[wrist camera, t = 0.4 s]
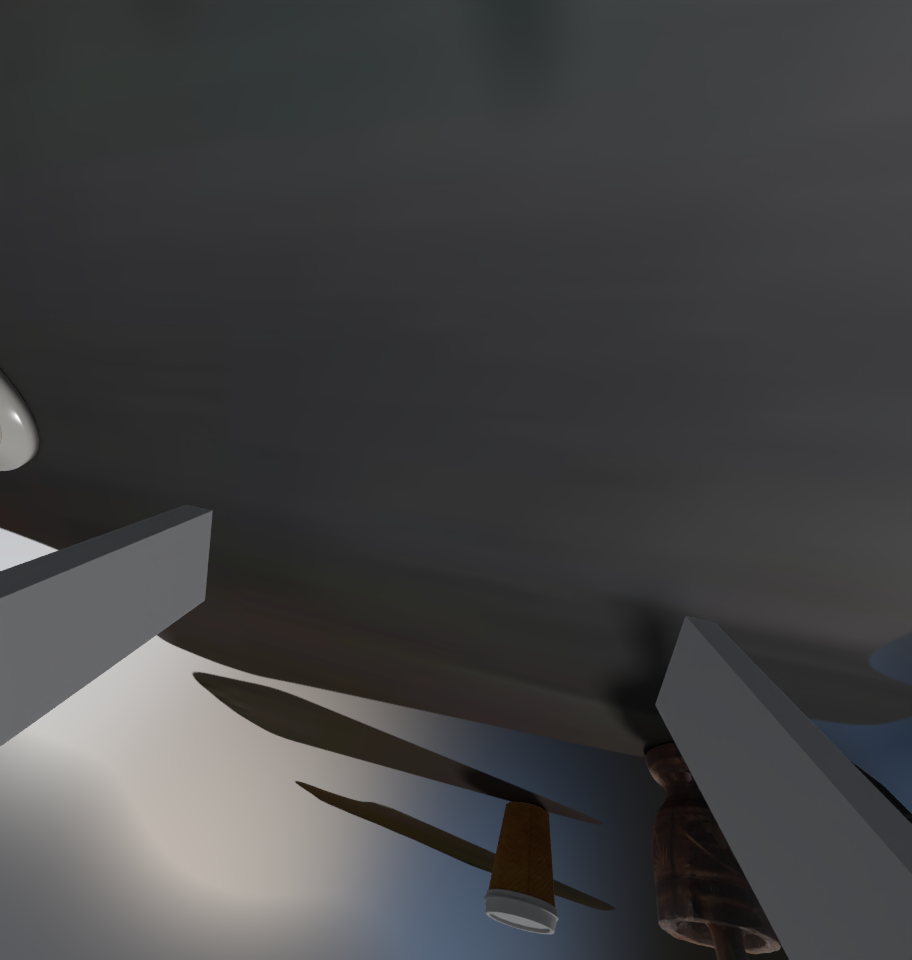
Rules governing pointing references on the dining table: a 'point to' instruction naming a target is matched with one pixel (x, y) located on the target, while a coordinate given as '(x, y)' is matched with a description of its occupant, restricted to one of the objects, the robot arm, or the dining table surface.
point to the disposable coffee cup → (523, 871)
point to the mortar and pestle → (701, 870)
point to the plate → (15, 428)
